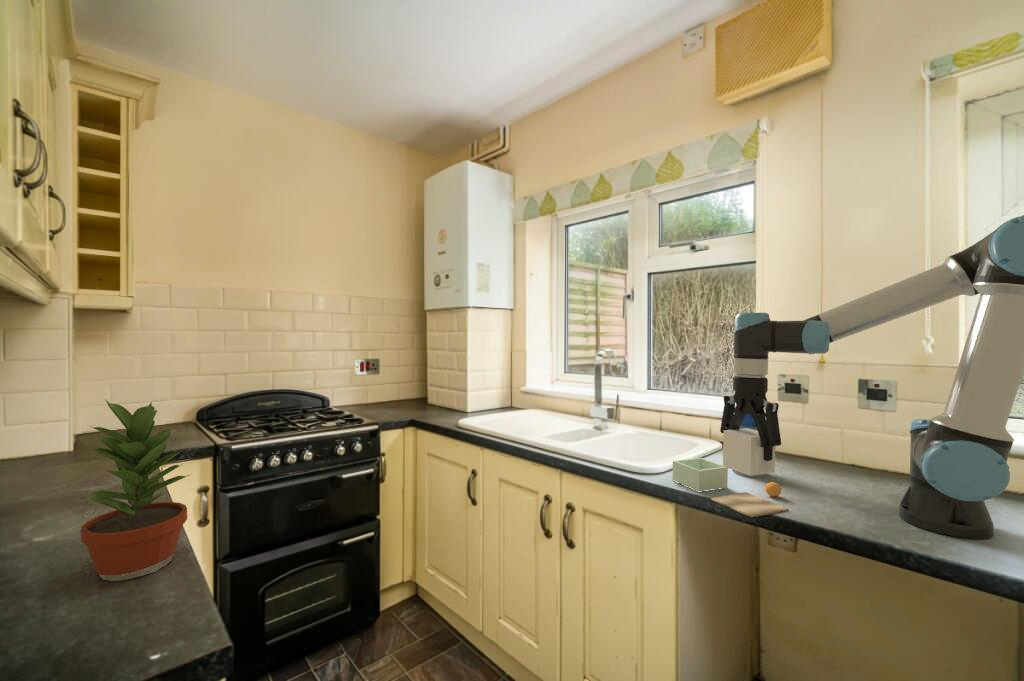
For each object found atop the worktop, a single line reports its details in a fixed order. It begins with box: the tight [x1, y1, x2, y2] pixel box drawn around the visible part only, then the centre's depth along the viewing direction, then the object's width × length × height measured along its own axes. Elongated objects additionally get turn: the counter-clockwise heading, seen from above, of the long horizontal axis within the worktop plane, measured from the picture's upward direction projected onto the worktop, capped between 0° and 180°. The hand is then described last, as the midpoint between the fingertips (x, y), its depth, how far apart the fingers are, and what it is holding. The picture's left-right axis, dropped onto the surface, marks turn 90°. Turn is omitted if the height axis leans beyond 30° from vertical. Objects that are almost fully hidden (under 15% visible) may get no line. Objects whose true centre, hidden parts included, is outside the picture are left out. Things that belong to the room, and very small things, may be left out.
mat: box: [710, 491, 790, 519], centre depth 111 cm, size 12×12×1 cm
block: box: [722, 428, 776, 476], centre depth 111 cm, size 8×8×9 cm
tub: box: [672, 457, 729, 491], centre depth 126 cm, size 10×10×6 cm
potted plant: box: [80, 398, 192, 575], centre depth 81 cm, size 15×15×30 cm
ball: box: [764, 481, 782, 498], centre depth 117 cm, size 4×4×4 cm
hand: (748, 468), depth 111 cm, fingers closed on block, 8 cm apart
